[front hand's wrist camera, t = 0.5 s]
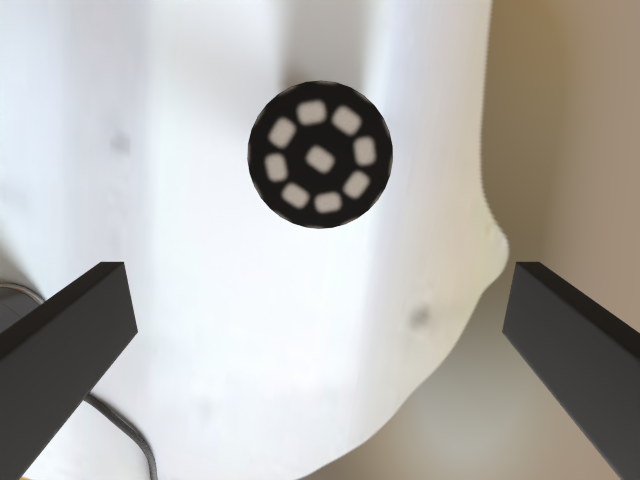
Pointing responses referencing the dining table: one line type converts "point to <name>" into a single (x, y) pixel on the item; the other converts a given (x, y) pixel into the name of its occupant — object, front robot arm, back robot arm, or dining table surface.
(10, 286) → the back robot arm
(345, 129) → the black spotted cylinder
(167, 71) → the dining table surface
